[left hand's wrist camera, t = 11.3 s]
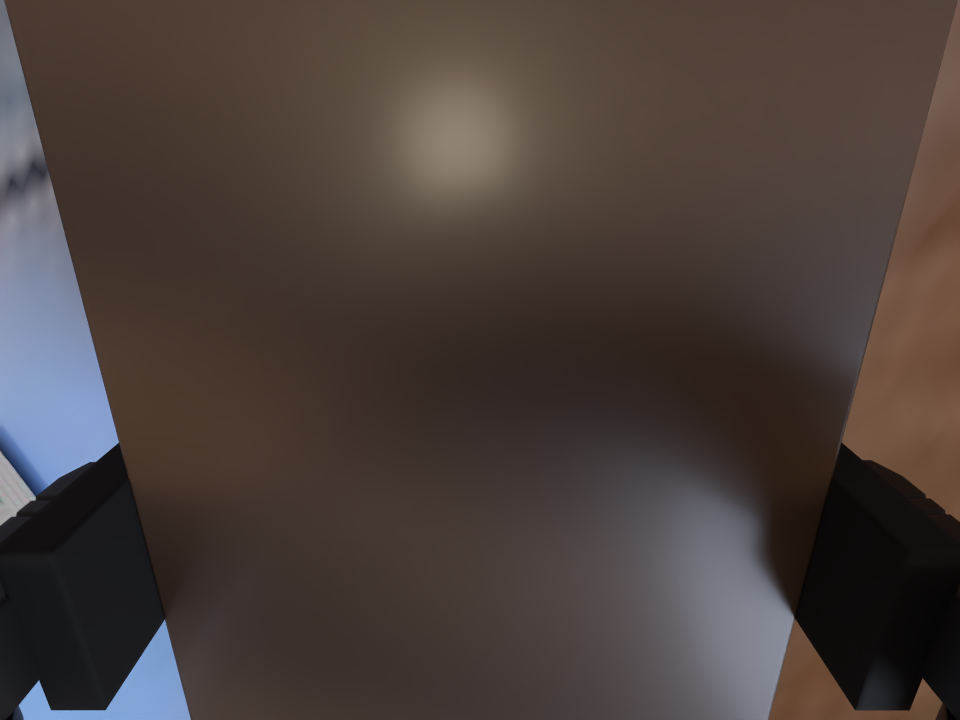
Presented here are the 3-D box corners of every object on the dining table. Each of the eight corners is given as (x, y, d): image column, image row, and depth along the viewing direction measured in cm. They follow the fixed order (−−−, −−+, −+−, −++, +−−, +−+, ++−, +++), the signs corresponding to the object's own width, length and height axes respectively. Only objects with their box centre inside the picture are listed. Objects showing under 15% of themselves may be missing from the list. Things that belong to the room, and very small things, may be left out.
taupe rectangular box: (249, -207, 13) (-257, -979, 4) (710, -206, 13) (1218, -969, 4) (327, 480, 19) (199, 763, 10) (632, 480, 19) (759, 763, 10)
